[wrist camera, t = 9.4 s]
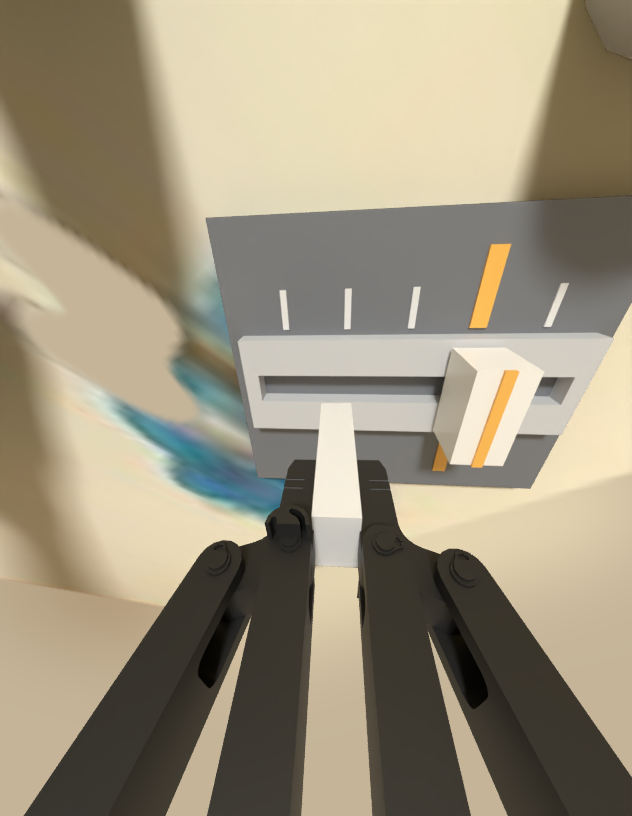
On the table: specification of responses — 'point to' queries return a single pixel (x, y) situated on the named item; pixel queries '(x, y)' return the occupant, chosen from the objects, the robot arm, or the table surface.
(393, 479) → the console
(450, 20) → the table surface
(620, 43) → the cup
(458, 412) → the fader
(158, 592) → the table surface
